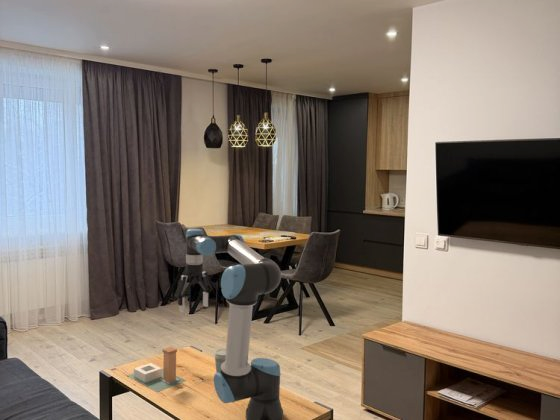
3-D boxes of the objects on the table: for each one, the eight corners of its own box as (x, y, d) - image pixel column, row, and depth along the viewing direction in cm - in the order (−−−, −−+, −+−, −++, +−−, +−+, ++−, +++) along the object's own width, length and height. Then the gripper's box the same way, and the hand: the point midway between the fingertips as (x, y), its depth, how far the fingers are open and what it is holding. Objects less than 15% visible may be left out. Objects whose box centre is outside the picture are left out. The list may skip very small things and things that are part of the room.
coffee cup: (228, 381, 228) (229, 356, 227) (211, 379, 230) (211, 354, 229) (234, 373, 236) (234, 349, 235) (217, 371, 238) (217, 347, 237)
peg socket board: (186, 383, 224) (186, 372, 224) (157, 395, 212) (157, 383, 212) (155, 368, 240) (155, 357, 239) (126, 378, 228) (126, 367, 227)
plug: (176, 379, 224) (177, 349, 223) (168, 382, 221) (168, 352, 220) (170, 376, 227) (170, 346, 226) (162, 379, 224) (162, 349, 223)
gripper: (210, 258, 233) (209, 302, 234) (166, 265, 214) (166, 313, 216) (220, 260, 228) (219, 305, 230) (177, 268, 209) (176, 316, 211)
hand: (193, 309), depth 223 cm, fingers open, 13 cm apart
